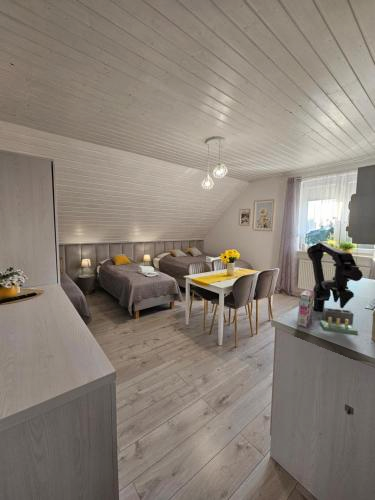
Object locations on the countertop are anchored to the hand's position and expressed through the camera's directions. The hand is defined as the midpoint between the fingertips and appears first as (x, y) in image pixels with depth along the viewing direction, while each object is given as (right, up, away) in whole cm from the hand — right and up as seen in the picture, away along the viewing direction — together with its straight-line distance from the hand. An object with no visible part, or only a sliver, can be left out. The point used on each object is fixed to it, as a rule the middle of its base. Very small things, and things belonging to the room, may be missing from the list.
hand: (338, 304), depth 118 cm
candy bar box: (-19, -9, -2) cm, 21 cm away
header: (-5, -10, -7) cm, 13 cm away
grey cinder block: (0, -9, +1) cm, 9 cm away
